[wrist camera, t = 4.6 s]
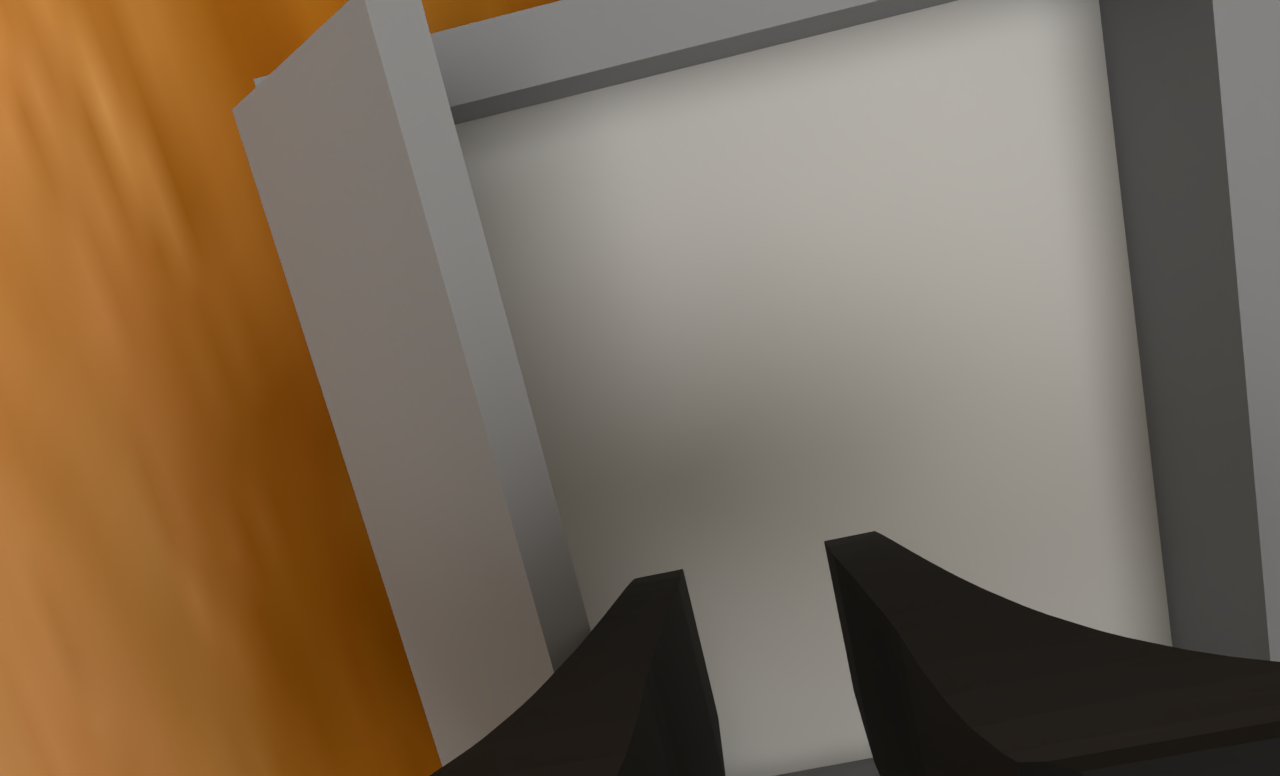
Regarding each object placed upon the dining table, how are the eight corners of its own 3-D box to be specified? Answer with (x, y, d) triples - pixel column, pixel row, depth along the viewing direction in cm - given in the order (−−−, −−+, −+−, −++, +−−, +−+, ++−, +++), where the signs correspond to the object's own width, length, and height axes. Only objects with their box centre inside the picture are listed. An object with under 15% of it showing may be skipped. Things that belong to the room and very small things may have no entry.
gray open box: (1133, -105, 16) (1277, -183, 12) (1218, 718, 20) (1350, 857, 16) (346, 94, 17) (253, 79, 14) (563, 836, 21) (539, 991, 17)
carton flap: (416, -18, 8) (361, -11, 8) (763, 1274, 12) (732, 1307, 12) (268, 103, 13) (232, 110, 13) (542, 984, 17) (518, 1001, 17)
